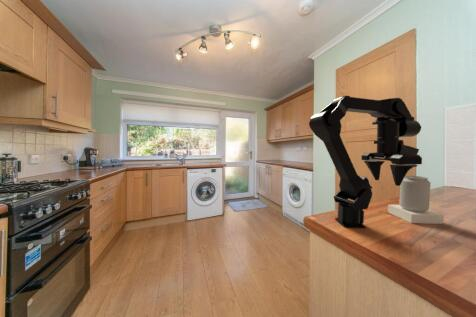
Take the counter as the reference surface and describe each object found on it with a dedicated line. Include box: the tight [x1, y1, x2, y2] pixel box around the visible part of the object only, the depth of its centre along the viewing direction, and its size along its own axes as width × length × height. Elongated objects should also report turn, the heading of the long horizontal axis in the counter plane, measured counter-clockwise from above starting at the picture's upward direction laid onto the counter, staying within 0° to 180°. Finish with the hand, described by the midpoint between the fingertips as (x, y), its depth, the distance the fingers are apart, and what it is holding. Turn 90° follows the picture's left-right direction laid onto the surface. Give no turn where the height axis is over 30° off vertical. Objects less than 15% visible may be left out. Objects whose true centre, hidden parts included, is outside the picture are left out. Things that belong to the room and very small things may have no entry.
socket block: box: [387, 204, 445, 225], centre depth 63 cm, size 10×10×3 cm
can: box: [398, 175, 432, 212], centre depth 63 cm, size 8×8×12 cm
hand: (386, 182), depth 60 cm, fingers open, 9 cm apart
